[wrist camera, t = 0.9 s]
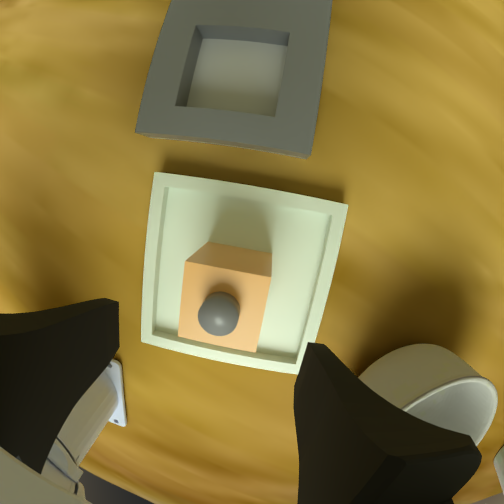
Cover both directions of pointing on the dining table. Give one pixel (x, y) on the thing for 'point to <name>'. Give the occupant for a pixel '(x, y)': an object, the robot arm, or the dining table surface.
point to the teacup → (435, 388)
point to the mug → (500, 466)
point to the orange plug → (225, 296)
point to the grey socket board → (238, 74)
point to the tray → (250, 237)
